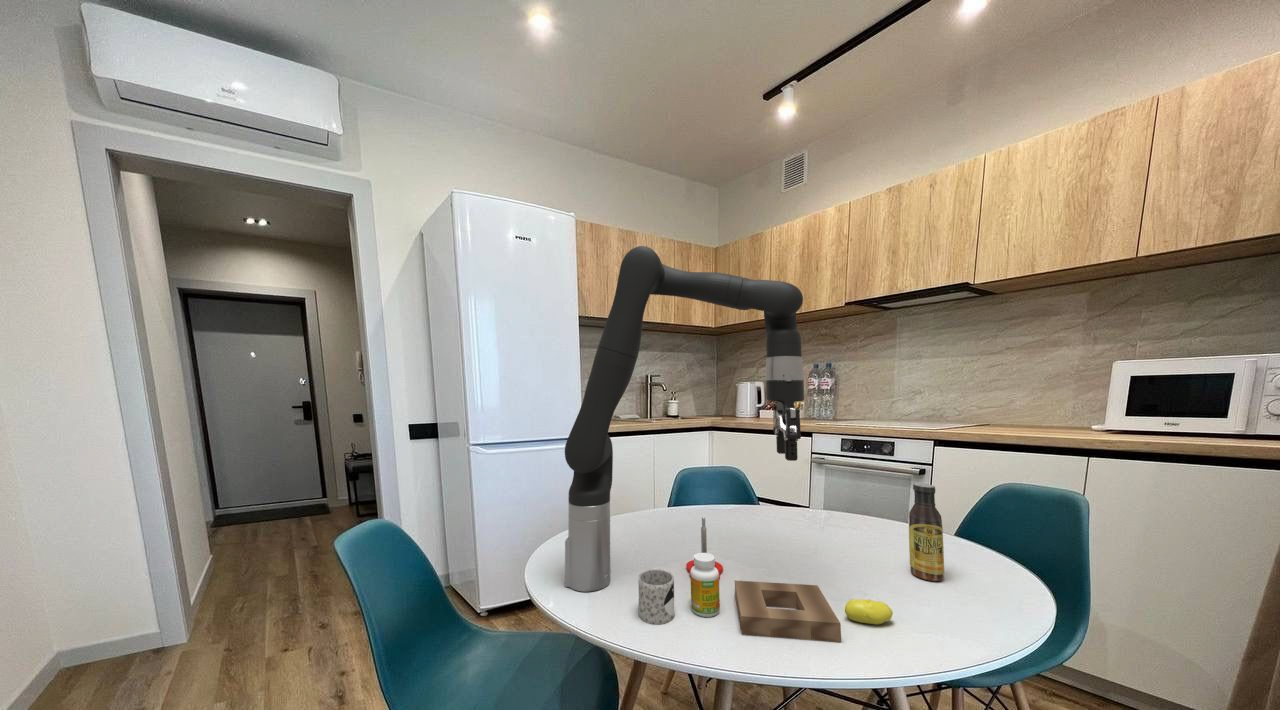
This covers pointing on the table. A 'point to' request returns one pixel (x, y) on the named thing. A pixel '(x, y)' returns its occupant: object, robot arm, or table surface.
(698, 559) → the supplement bottle
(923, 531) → the sauce bottle
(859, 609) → the yellow potato
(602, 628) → the table surface
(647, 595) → the mug
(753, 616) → the socket plate
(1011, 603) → the table surface
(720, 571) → the tow hook
